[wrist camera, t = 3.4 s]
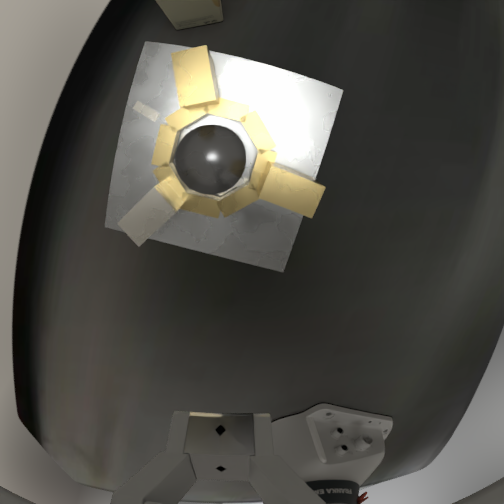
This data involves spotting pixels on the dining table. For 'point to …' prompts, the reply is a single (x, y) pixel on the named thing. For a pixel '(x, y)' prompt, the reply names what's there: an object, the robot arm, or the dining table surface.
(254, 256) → the housing
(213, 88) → the ring nut
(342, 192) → the dining table surface
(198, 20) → the skincare box
